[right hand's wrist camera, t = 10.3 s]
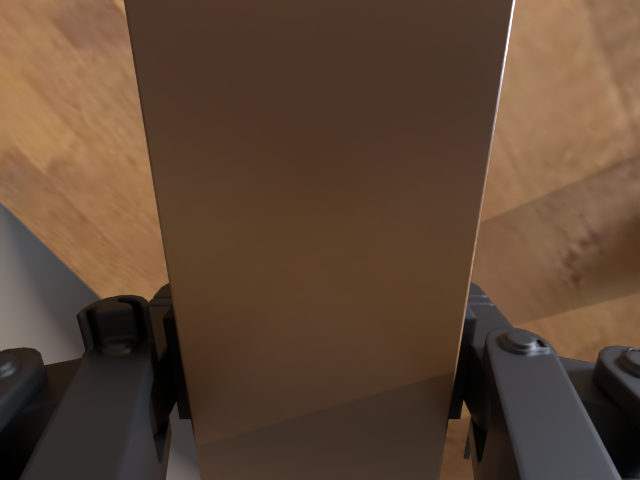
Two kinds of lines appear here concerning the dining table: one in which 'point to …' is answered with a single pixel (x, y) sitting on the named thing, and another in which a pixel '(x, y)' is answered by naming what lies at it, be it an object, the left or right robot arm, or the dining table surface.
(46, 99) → the dining table surface
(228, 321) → the post
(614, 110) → the dining table surface
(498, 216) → the dining table surface
